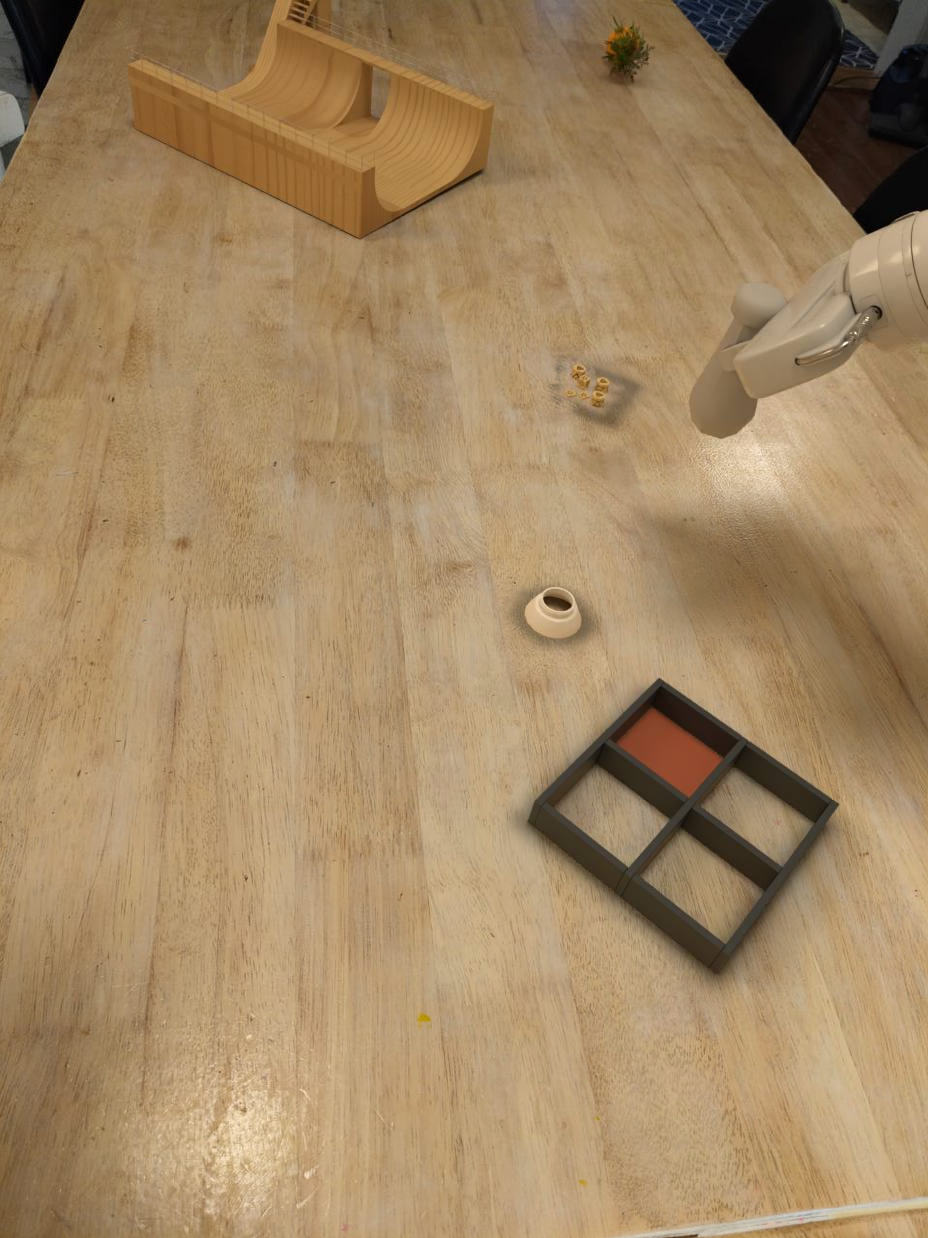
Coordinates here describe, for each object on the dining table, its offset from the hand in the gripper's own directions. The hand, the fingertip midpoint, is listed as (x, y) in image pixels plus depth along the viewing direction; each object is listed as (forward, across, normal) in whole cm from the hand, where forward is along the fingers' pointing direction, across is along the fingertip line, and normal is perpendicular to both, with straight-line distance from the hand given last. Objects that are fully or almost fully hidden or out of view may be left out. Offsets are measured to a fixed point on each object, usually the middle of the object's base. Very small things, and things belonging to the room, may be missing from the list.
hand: (735, 348), depth 85 cm
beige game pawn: (+5, 0, -6) cm, 8 cm away
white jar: (+17, -18, -13) cm, 28 cm away
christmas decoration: (+58, +106, +28) cm, 124 cm away
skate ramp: (+68, +40, +39) cm, 88 cm away
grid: (+4, -30, -26) cm, 39 cm away
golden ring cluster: (+27, +14, -3) cm, 31 cm away
